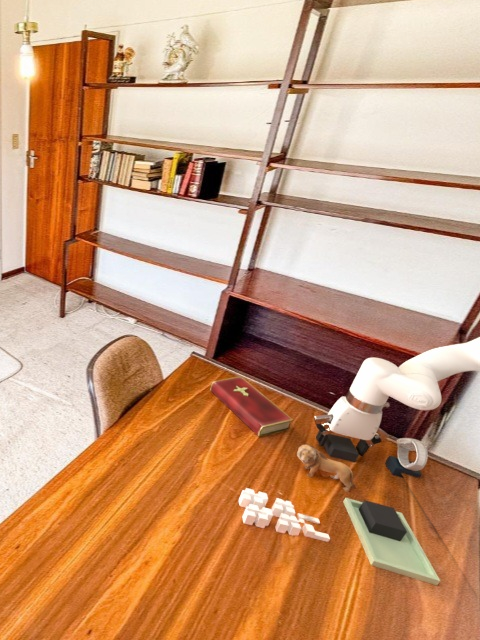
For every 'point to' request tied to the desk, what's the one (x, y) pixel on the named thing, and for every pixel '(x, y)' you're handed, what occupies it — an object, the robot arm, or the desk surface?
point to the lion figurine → (325, 465)
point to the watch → (403, 462)
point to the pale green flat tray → (392, 548)
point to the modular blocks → (277, 515)
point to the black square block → (382, 520)
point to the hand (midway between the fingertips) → (339, 447)
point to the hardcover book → (251, 406)
